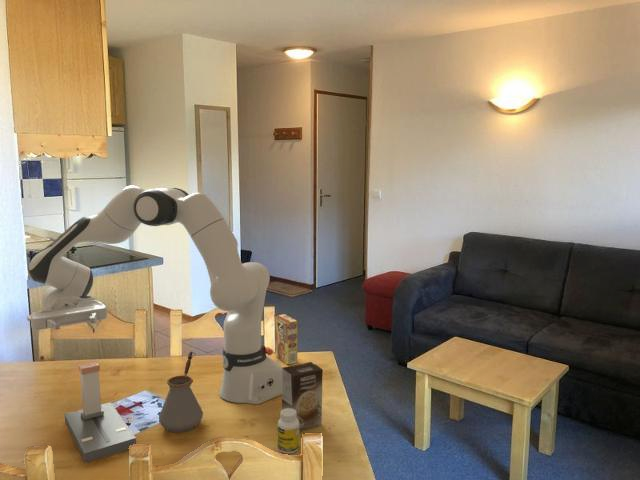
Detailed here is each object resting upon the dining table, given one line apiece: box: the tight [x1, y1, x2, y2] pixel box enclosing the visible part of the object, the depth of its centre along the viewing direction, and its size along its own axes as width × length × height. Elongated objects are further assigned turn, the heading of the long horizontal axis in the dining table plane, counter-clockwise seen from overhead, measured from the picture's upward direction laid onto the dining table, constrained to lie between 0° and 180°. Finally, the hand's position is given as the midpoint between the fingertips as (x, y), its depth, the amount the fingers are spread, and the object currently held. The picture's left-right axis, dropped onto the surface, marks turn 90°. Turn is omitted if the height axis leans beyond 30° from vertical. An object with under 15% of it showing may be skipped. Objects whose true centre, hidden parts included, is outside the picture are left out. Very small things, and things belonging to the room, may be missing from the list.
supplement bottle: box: [277, 408, 300, 454], centre depth 135 cm, size 5×5×10 cm
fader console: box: [64, 401, 137, 464], centre depth 142 cm, size 12×23×3 cm, turn 35°
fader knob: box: [78, 360, 104, 420], centre depth 145 cm, size 5×4×14 cm
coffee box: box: [281, 361, 324, 432], centre depth 146 cm, size 9×6×16 cm
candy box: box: [274, 313, 298, 365], centre depth 190 cm, size 9×4×15 cm, turn 33°
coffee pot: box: [158, 350, 204, 434], centre depth 150 cm, size 21×12×15 cm, turn 1°
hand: (75, 323), depth 153 cm, fingers open, 8 cm apart
